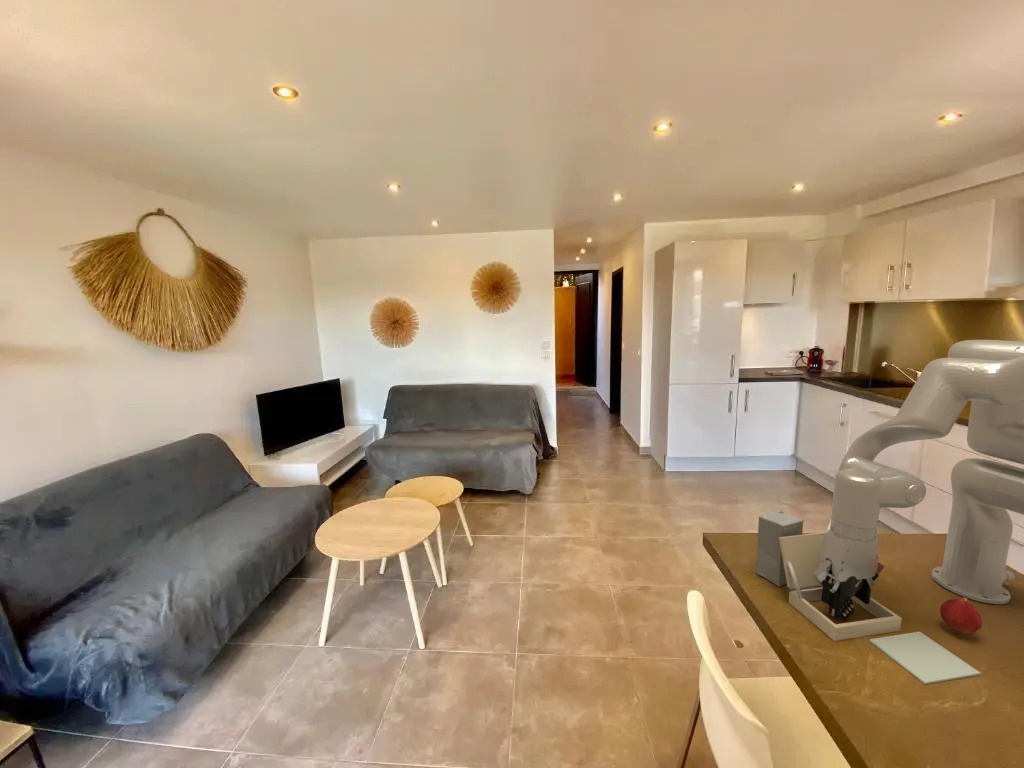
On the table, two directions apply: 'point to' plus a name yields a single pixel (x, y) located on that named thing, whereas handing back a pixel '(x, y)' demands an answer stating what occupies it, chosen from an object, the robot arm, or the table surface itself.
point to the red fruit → (961, 615)
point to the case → (805, 588)
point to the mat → (924, 658)
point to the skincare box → (774, 544)
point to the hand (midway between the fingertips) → (845, 601)
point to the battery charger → (846, 598)
